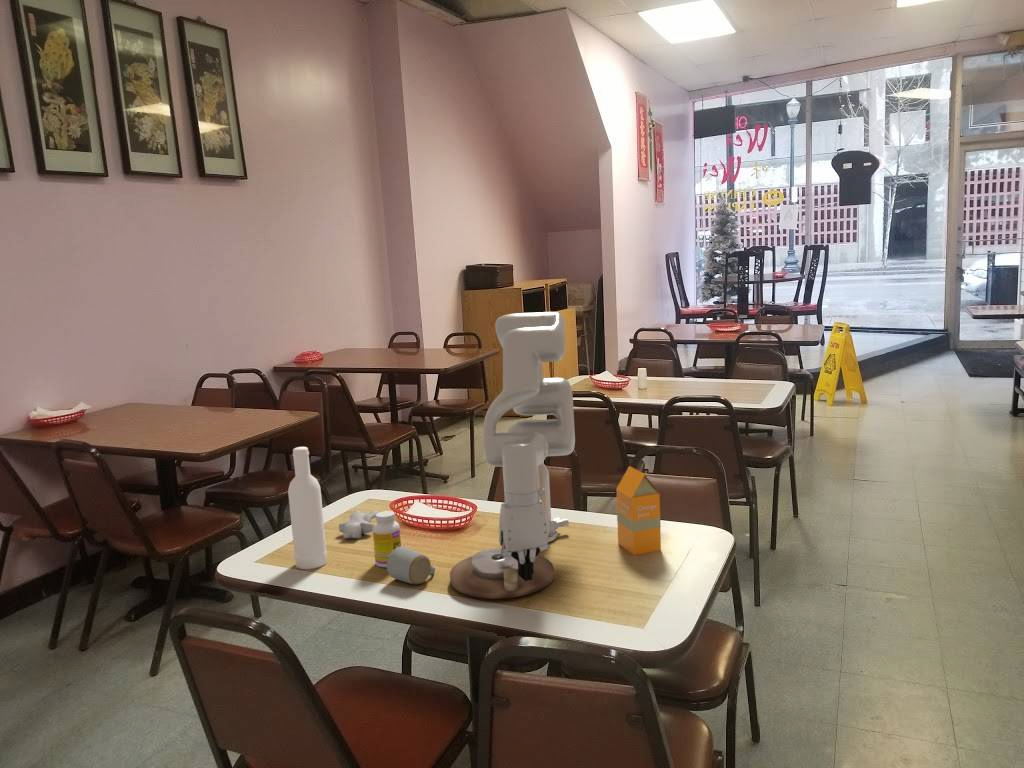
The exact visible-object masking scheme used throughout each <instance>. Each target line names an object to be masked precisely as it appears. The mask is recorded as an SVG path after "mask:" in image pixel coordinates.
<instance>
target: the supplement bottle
mask: <svg viewBox="0 0 1024 768" xmlns="http://www.w3.org/2000/svg"><path fill="white" fill-rule="evenodd" d="M378 512H379V513H377V514H376V517H375V520H376V523H375V524H373V525H372V527H373V531H372V537H373V549H374V561H375V562H374V563H375V565H376V566H377V567H380V568H387V561H388V558H389V556H390V554H391V552H392V551H393V550H394V549H395V548H397V547H400V546H402V539H401V528H400V527H401V526H400V524H399V523H398V522H397V521H396V520H395V518H396V516H395V515H396V513H395V512H394V511H392V510H385V511H378Z"/></svg>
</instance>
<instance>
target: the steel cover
mask: <svg viewBox="0 0 1024 768" xmlns="http://www.w3.org/2000/svg"><path fill="white" fill-rule="evenodd" d="M501 549H502V547H494V548H487V549H483V550H481V551H479V552H476V553H475V554H474V555H473V557H472V556H471V557H472V568H473V574H474V575H475V576H477V577H479V578H482V579H486V580H504V572H503V571H504V569H507V568H515V569H517V575H519V573H518V561H517V560H516V559H514V558H513V557H503V556H502V555H501Z"/></svg>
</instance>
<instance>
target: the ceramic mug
mask: <svg viewBox="0 0 1024 768" xmlns="http://www.w3.org/2000/svg"><path fill="white" fill-rule="evenodd" d="M386 570H387V572H388V575H389V576H390V577H391V578H393V579H396V580H398V581H401V582H404V583H408V584H410V585H421V584H422V583H424V582H425V581H426V580H427V579H428V577H429V575H434V574H435V571H436V567H435V566H433V565H431V561H430V558H429V557H428V556H426V554H423V553H421V552H419V551H416V550H414V549H411V548H410V547H407V546H403V545H401V546H400V547H397V548H395V549H394V550H393V551H392V552H391V554H390V556H389V558H388V561H387V567H386Z"/></svg>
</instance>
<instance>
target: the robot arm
mask: <svg viewBox="0 0 1024 768" xmlns="http://www.w3.org/2000/svg"><path fill="white" fill-rule="evenodd" d="M566 332H567V331H566V323H565V319H564V317H563V315H562V314H561V313H560V312H557V311H543V312H540V311H539V312H518V313H517V312H516V313H509V314H504V315H501V316H499V317H497V319H496V321H495V333H496V336H497V340H498V342H499V344H500V345H501V348H502V391H501V392H500V393H499V394H498V395H497V396H496V397H495V398H494V400H493V401H492V402H491V403H490V405H489V407H488V409H487V411H486V414H485V417H484V419H483V420H484V421H483V434H482V435H483V439H482V441H483V442H482V443H483V447H482V448H483V458H484V460H485V462H486V463H487V464H488V465H489V466H491V467H494V468H495V467H496V468H497V467H500V468H501V467H502V476H503V490H504V491H503V492H504V493H503V494H504V502H503V503H502V504H501V505H500V509H499V510H500V511H499V521H498V523H499V524H498V544H499V545H500V546H501V548H502V549H501V555H502V556H503V557H513V558H514V559H516V560H517V561H518V573H519V576H520V577H521V578H522V579H523V580H525V581H528V580H532V574H534V570H533V562H534V561H535V558H536V556H537V555H540V554H539V553H541V552H543V551H544V550H545V551H546V550H547V549H548V548H549V544H548V543H550V542H554V541H555V540H556V539H557V538H558V536H559V535H558V533H559V532H558V529H559V528H564V527H568V526H569V523H570V522H569V520H568V519H567V518H563V519H561V518H560V517H557V518H552V511H551V509H552V508H551V507H552V506H551V489H550V473H549V470H548V468H547V466H546V465H545V464H544V461H545V460H546V458H547V457H559V456H560V457H561V456H562V457H563V456H568V455H571V454H572V453H573V451H574V449H575V446H576V445H575V443H576V434H575V433H576V432H575V415H574V412H575V411H574V397H573V389H572V386H571V384H570V382H569V380H568V379H566V378H564V377H544V375H543V363H550V362H551V363H552V362H555V363H556V362H559V361H561V360H563V358H564V356H565V352H566ZM510 410H513V411H514V413H515V414H517V415H521V416H547V415H548V416H549V415H552V416H555V417H556V418H553V419H526V420H519V421H516V422H514V423H512V424H510V426H509V427H508V430H507V432H497V426H498V425H497V424H498V422H499V421H500V418H502V416H503V415H505V414H506V413H507V412H509V411H510ZM524 551H525V552H526V554H525V556H526V557H525V558H524V553H523V552H524Z"/></svg>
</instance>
